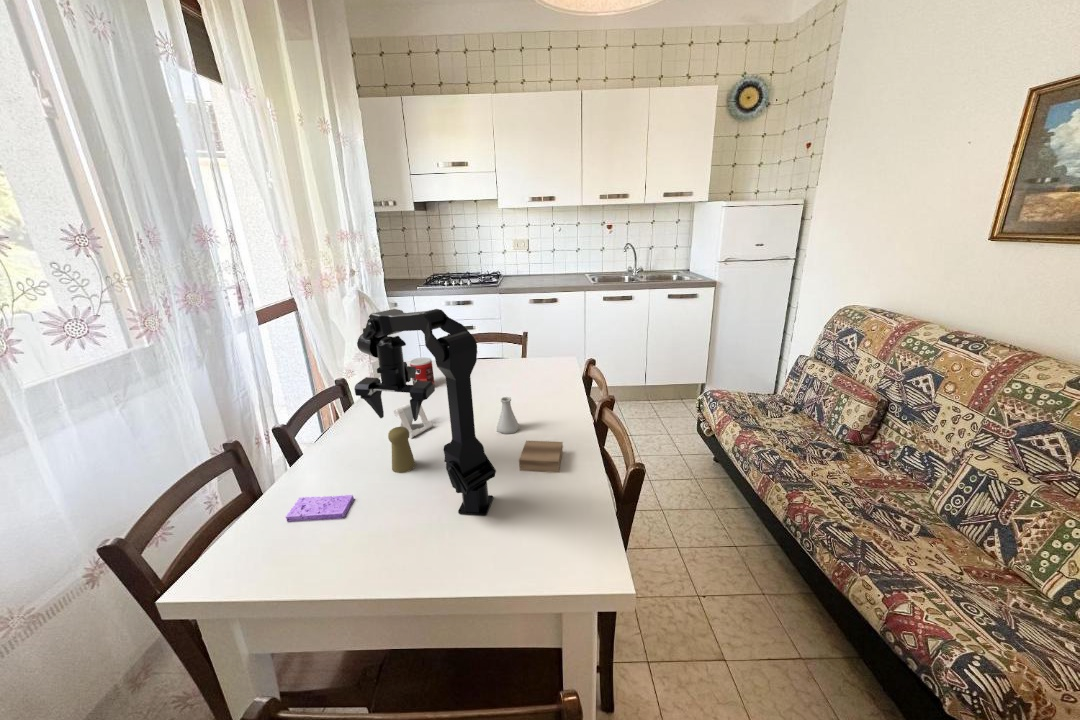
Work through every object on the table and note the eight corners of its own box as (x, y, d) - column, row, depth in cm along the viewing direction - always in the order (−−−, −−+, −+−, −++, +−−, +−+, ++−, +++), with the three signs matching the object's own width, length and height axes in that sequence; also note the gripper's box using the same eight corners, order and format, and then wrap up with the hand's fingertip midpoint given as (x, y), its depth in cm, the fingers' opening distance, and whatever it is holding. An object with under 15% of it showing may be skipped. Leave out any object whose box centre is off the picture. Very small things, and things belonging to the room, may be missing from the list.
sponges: (301, 503, 103) (299, 497, 102) (355, 500, 103) (353, 493, 103) (286, 523, 96) (284, 516, 95) (344, 519, 96) (342, 512, 96)
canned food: (412, 386, 170) (408, 359, 167) (432, 382, 173) (429, 356, 170) (415, 392, 164) (411, 365, 160) (436, 388, 167) (433, 361, 163)
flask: (516, 435, 129) (514, 404, 126) (493, 433, 131) (490, 403, 128) (522, 424, 136) (520, 394, 133) (499, 422, 137) (497, 393, 134)
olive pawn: (386, 469, 114) (380, 432, 111) (403, 458, 119) (397, 422, 116) (404, 475, 112) (397, 436, 108) (420, 463, 117) (415, 426, 113)
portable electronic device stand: (412, 439, 130) (408, 413, 127) (394, 433, 134) (390, 408, 131) (433, 427, 136) (430, 402, 134) (416, 421, 141) (412, 398, 138)
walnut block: (558, 472, 110) (558, 461, 109) (519, 470, 112) (519, 460, 111) (562, 451, 119) (562, 442, 118) (526, 450, 121) (526, 440, 120)
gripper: (440, 352, 112) (445, 407, 118) (372, 349, 115) (380, 402, 120) (422, 368, 102) (428, 427, 107) (348, 364, 105) (358, 422, 110)
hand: (398, 418), depth 112 cm, fingers open, 9 cm apart
